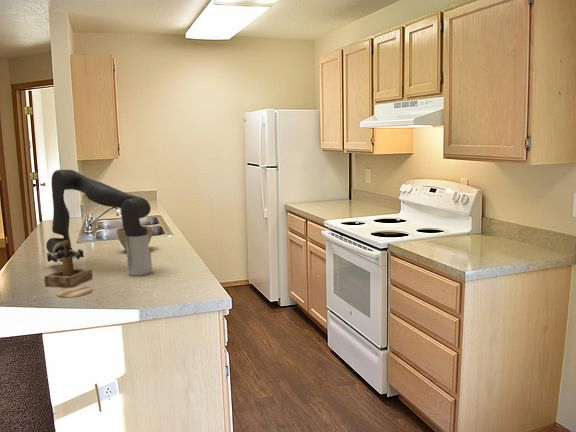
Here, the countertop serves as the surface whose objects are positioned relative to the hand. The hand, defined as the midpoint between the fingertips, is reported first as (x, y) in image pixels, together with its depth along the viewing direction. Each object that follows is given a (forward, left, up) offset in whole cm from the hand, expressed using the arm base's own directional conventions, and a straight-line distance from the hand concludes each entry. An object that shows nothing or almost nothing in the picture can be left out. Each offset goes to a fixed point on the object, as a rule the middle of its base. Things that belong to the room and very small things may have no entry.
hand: (67, 258), depth 214 cm
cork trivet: (-13, +13, -10) cm, 21 cm away
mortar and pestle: (-1, +1, -10) cm, 10 cm away
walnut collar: (-1, +1, -10) cm, 10 cm away
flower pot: (+4, -58, -10) cm, 59 cm away
